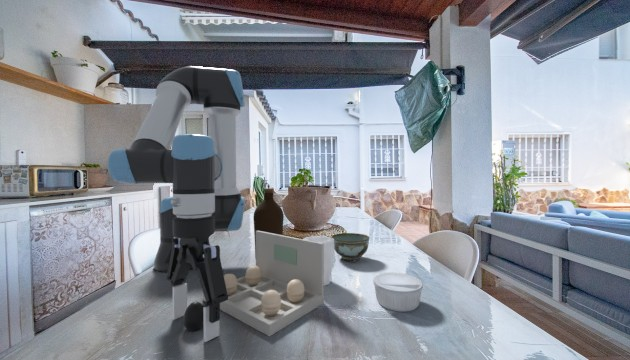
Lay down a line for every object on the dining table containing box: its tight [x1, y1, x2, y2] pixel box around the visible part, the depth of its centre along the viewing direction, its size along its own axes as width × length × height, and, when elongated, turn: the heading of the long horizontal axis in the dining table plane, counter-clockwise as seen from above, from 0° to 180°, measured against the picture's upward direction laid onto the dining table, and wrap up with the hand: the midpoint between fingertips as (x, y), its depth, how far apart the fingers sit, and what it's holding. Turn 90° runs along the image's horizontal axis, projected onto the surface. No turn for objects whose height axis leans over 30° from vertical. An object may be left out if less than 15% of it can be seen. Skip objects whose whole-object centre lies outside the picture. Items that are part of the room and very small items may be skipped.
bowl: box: [331, 232, 370, 262], centre depth 97 cm, size 14×13×8 cm
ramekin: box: [372, 271, 424, 313], centre depth 64 cm, size 11×11×5 cm
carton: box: [202, 231, 325, 337], centre depth 64 cm, size 24×17×14 cm
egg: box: [183, 301, 204, 332], centre depth 53 cm, size 4×4×5 cm
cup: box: [302, 235, 335, 287], centre depth 76 cm, size 9×9×12 cm
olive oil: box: [252, 188, 284, 260], centre depth 97 cm, size 11×11×25 cm
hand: (194, 326), depth 53 cm, fingers open, 11 cm apart
